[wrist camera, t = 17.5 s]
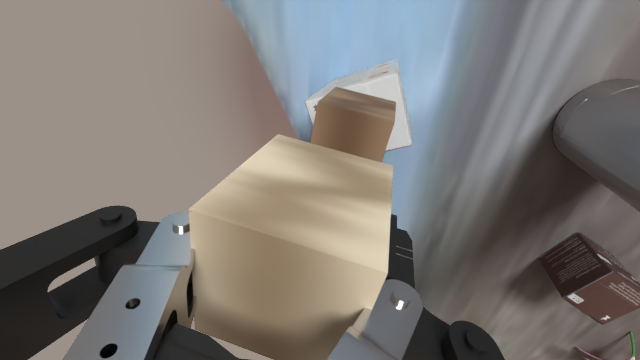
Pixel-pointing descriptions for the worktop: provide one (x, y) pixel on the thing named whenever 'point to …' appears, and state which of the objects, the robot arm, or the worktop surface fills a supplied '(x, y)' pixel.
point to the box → (591, 279)
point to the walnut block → (354, 123)
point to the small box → (379, 84)
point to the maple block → (291, 249)
